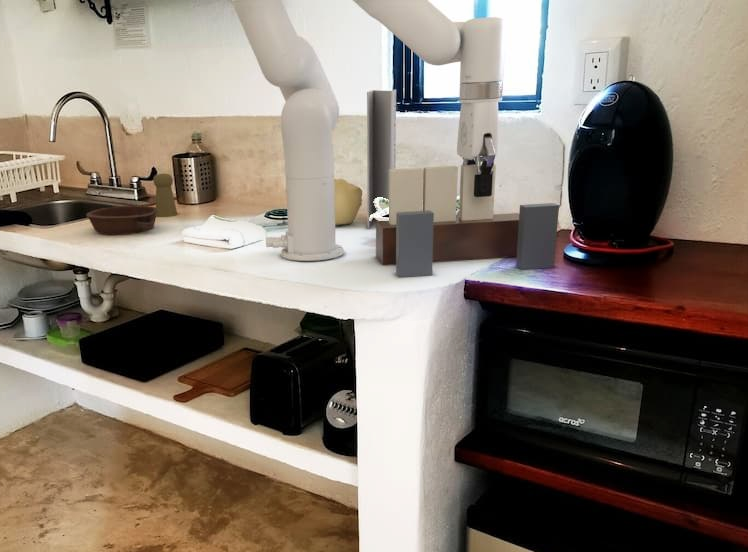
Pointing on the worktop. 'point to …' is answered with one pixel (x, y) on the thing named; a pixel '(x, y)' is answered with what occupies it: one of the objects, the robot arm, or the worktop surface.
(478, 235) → the book shelf
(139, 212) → the dish
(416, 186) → the cream book
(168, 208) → the olive pawn piece
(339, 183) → the sculpture
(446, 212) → the cream book
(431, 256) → the grey book left
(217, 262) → the worktop surface
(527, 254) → the grey rectangular block
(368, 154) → the tall grey panel
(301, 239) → the robot arm
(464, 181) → the cream book
